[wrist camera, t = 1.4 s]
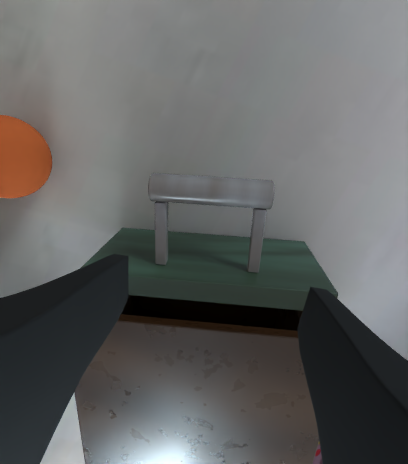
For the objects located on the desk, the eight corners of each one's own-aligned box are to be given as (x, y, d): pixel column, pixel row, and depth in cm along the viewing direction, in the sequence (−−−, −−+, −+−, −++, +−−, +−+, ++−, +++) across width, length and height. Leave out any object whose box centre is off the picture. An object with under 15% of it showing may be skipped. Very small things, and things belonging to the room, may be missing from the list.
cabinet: (119, 250, 22) (62, 315, 15) (305, 264, 21) (347, 343, 14) (127, 377, 27) (87, 478, 19) (279, 394, 26) (301, 506, 18)
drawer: (118, 157, 19) (64, 173, 13) (318, 170, 18) (364, 193, 12) (129, 359, 25) (97, 435, 19) (279, 374, 24) (296, 459, 18)
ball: (5, 186, 21) (-58, 204, 16) (-9, 113, 19) (-85, 110, 15) (70, 191, 21) (25, 210, 16) (62, 117, 19) (8, 115, 14)
